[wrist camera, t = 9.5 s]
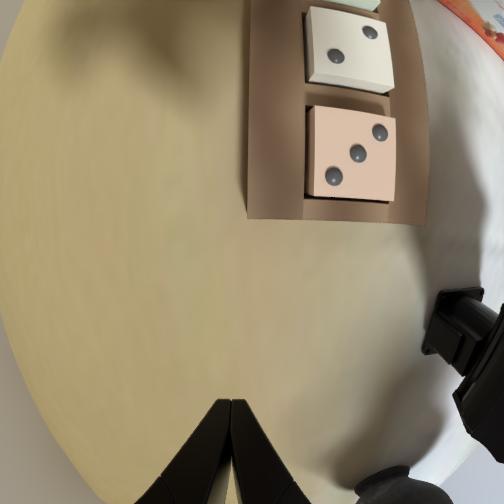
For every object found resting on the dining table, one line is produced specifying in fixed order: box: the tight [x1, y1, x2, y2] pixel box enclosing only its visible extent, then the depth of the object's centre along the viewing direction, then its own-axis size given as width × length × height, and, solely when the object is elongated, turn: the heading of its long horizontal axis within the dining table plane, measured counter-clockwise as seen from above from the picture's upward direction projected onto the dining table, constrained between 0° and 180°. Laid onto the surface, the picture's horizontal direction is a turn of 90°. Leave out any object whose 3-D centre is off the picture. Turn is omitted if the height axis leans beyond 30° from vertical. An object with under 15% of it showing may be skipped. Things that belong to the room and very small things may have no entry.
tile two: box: [303, 6, 394, 95], centre depth 13 cm, size 5×5×3 cm
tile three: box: [304, 106, 396, 201], centre depth 15 cm, size 5×5×3 cm
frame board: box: [247, 0, 429, 225], centre depth 14 cm, size 12×22×2 cm, turn 179°
